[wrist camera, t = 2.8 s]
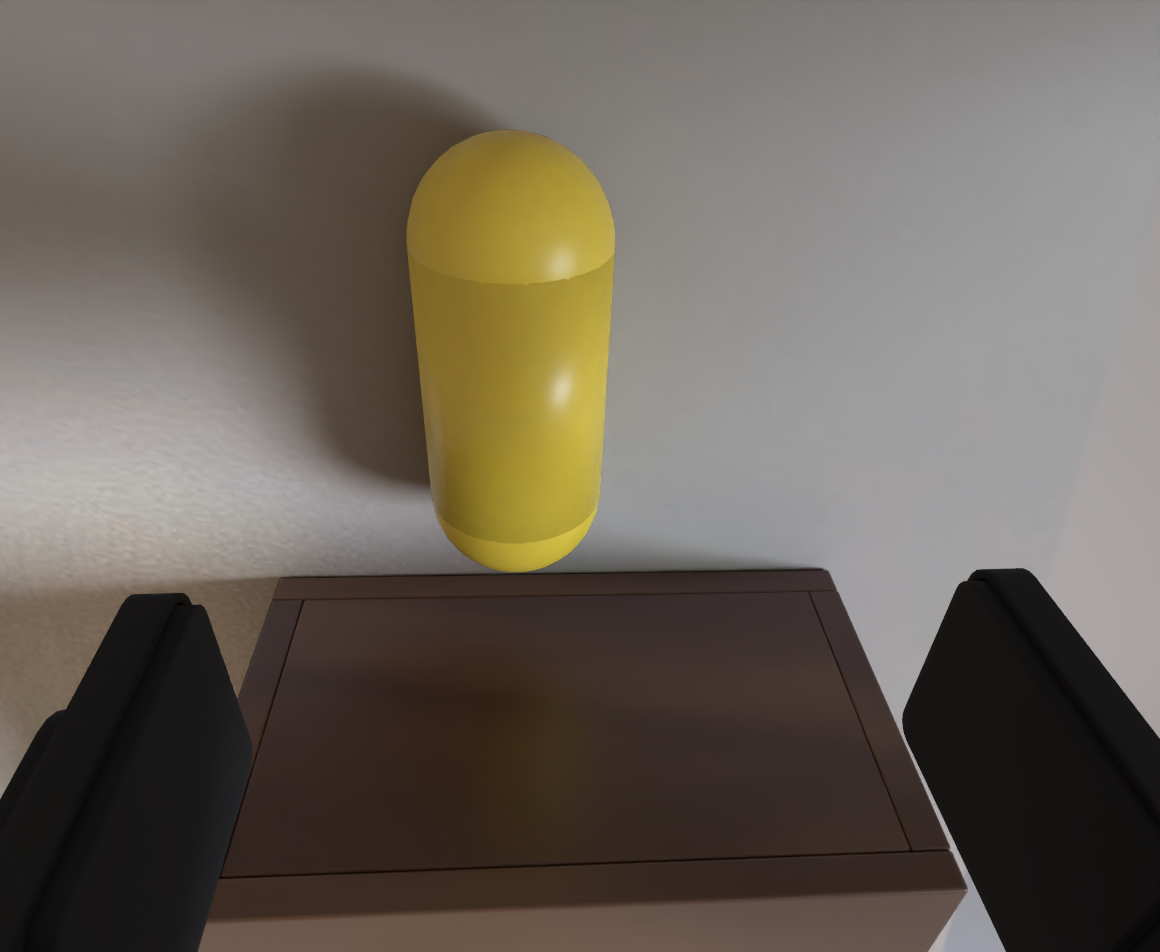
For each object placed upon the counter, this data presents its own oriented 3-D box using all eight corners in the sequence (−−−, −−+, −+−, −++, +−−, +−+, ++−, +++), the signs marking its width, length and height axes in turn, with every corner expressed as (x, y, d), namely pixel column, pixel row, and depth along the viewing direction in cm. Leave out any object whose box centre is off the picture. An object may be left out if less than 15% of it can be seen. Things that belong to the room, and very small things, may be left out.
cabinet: (736, 875, 32) (796, 1153, 25) (362, 890, 31) (315, 1183, 24) (829, 568, 22) (970, 890, 15) (278, 577, 21) (157, 924, 14)
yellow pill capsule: (519, 98, 15) (351, 127, 13) (668, 138, 13) (497, 180, 11) (523, 483, 20) (405, 547, 18) (628, 552, 18) (509, 635, 16)
